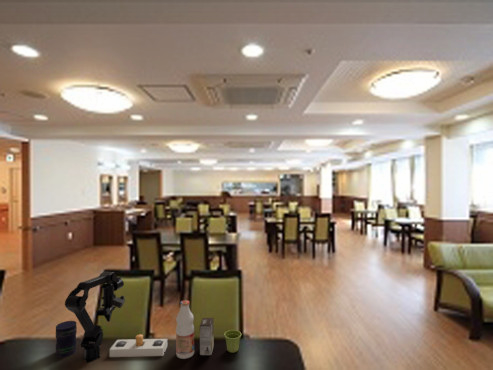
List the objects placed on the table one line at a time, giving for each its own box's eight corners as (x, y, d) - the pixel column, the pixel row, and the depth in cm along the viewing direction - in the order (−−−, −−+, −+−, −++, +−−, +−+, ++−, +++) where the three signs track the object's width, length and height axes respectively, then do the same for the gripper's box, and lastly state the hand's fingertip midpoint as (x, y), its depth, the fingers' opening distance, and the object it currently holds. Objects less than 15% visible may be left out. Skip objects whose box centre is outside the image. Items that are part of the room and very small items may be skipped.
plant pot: (242, 345, 168) (242, 330, 168) (240, 355, 159) (240, 338, 159) (225, 344, 169) (225, 329, 169) (222, 354, 160) (222, 338, 160)
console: (109, 357, 158) (109, 349, 158) (117, 346, 168) (117, 339, 168) (163, 355, 158) (163, 348, 158) (167, 345, 168) (167, 338, 168)
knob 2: (152, 350, 161) (152, 344, 161) (155, 346, 165) (154, 340, 165) (160, 350, 161) (160, 344, 161) (163, 346, 166) (162, 340, 166)
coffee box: (202, 346, 168) (202, 317, 168) (213, 346, 168) (213, 317, 168) (199, 355, 159) (199, 325, 159) (211, 355, 159) (211, 325, 159)
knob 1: (115, 351, 160) (115, 345, 160) (118, 347, 165) (118, 341, 165) (123, 351, 161) (123, 345, 161) (126, 347, 165) (126, 340, 165)
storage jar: (60, 359, 156) (59, 331, 156) (52, 353, 162) (52, 325, 162) (80, 351, 164) (80, 323, 164) (72, 345, 170) (72, 319, 170)
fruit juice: (173, 352, 161) (173, 301, 161) (190, 347, 166) (189, 297, 166) (180, 361, 153) (179, 306, 153) (197, 355, 159) (196, 302, 159)
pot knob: (134, 347, 161) (134, 337, 161) (137, 343, 165) (137, 334, 165) (141, 346, 161) (141, 337, 161) (144, 343, 165) (144, 333, 165)
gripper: (116, 300, 161) (116, 329, 161) (128, 288, 180) (129, 314, 180) (95, 300, 161) (95, 329, 161) (110, 288, 180) (110, 314, 180)
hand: (108, 321), depth 171 cm, fingers closed
